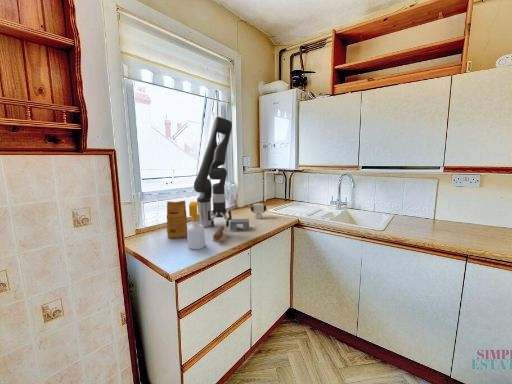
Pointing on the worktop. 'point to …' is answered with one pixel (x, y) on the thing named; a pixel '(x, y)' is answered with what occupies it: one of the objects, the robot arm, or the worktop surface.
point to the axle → (219, 232)
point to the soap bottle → (195, 229)
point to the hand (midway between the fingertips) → (220, 226)
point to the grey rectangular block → (239, 221)
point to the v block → (221, 236)
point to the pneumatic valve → (258, 210)
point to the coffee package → (176, 219)
